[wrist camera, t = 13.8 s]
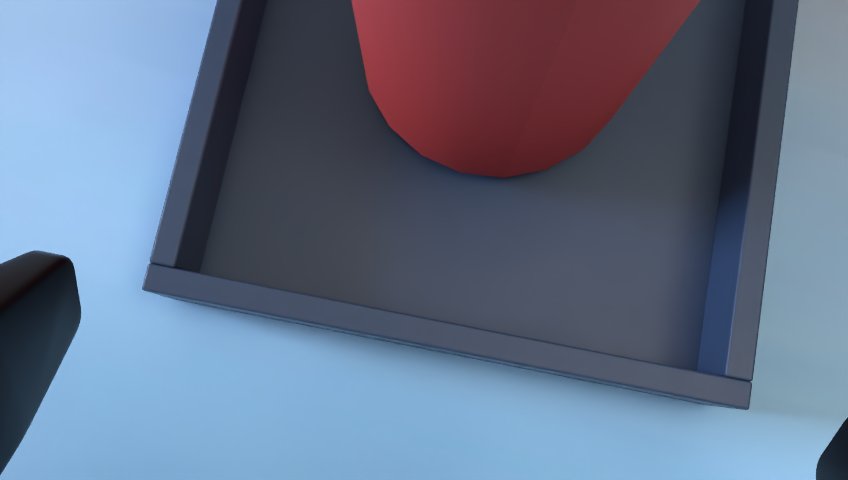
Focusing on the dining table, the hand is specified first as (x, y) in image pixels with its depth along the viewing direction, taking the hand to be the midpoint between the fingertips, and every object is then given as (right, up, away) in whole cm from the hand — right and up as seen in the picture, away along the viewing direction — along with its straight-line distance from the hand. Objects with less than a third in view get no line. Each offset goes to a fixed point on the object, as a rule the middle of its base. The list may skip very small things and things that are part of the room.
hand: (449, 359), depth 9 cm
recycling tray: (+2, +6, +11) cm, 13 cm away
